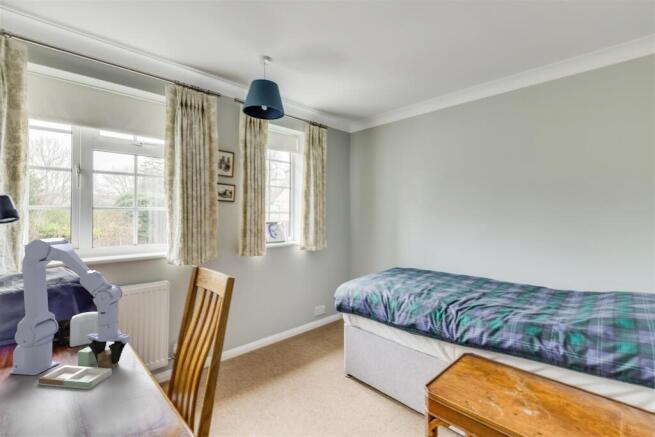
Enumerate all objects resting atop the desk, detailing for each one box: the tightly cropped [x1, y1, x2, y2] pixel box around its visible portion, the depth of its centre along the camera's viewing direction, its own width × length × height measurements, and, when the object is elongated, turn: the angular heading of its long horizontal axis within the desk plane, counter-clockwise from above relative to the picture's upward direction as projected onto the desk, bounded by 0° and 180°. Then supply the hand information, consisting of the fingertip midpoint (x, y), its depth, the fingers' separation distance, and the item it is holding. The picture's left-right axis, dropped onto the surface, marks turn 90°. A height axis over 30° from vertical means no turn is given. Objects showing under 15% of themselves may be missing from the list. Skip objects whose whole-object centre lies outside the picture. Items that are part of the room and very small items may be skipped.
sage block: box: [77, 346, 97, 367], centre depth 102 cm, size 4×4×5 cm
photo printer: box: [69, 311, 98, 348], centre depth 118 cm, size 10×4×12 cm, turn 129°
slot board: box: [38, 364, 113, 390], centre depth 92 cm, size 17×8×2 cm, turn 83°
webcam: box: [52, 318, 71, 349], centre depth 117 cm, size 8×8×10 cm
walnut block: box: [97, 348, 119, 369], centre depth 100 cm, size 4×4×5 cm
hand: (108, 362), depth 100 cm, fingers open, 5 cm apart
